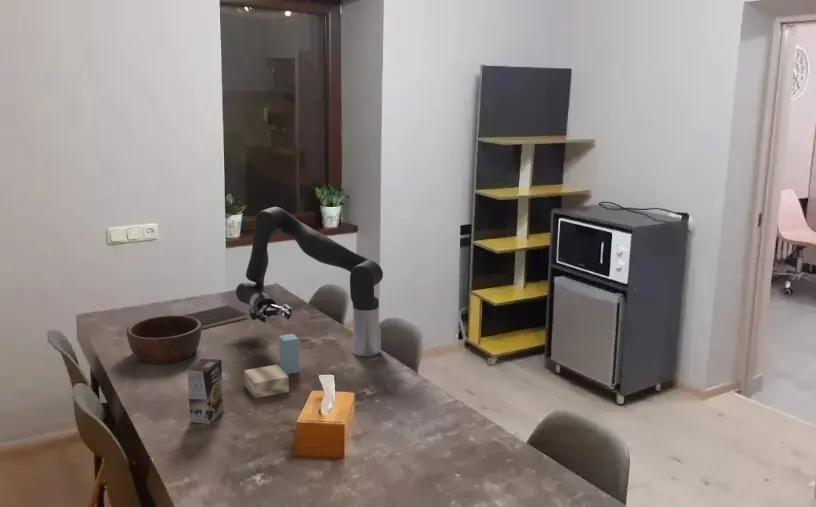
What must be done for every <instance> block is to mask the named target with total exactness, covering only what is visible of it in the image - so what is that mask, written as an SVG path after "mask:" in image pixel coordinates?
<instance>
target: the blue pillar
mask: <svg viewBox="0 0 816 507" xmlns="http://www.w3.org/2000/svg"><path fill="white" fill-rule="evenodd" d="M278 337H279V338H278V344H279V345H278V348H279V367H280V368H281V369H282V370H283V371H284V372H285V373H286V374H287V375H291V373H293V374H296V373H297V374H298V373H300V358H299V357H300V355H299V354H300V352H299V351H300V348H299V345H300V344H299V343H300V342H299V337H297V335H295V334H294V333H290V334H283V335H279V336H278Z"/></svg>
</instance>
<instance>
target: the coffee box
mask: <svg viewBox="0 0 816 507" xmlns="http://www.w3.org/2000/svg"><path fill="white" fill-rule="evenodd" d="M222 367H223V366H222V359H215V358H214V359H213V358H200V360H198V361H197V362H195V363H194V364H193V365H192V366H190V367H189V368H187V385H188V386H187V387H188V388H187V389H188V390H187V391H188V406H189V408H188V409H189V422H190V423H197V424H204V425H210V424H212V423H213V422H214V421H215V420H216V419H217V418H218V417H219V416H220V415H221V414H222V413H223V412H224V410H225V409H224V407H225V406H224V391H223V390H224V389H223V369H222Z"/></svg>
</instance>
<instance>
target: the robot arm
mask: <svg viewBox="0 0 816 507" xmlns="http://www.w3.org/2000/svg"><path fill="white" fill-rule="evenodd" d="M253 229H254V230H253V236H252V238H253V239H252V247H251V252H250V258H249V261H248V265H247V268H246V272H245V277H246V279H247V280H248V281H250V282H241V283H239V284H238V285H237V286H236V288H235V294H236V297H237V299H238V300H239V301H240V302H241V303H243V304H245V305H249V306H250V308H249V310H248V311H249V312H248V313H249V314H248V315H249V317H250V318H251V320H252V321H256V320H258V321H260V322H263V323H266V321H267V320H266V319H267V318H271V317H279V318H281V317H284V318H285V319H286V320H290V319H291V316H292V315H293V312H292V310H293V308H292V307H291V306H290V305H289V304H286V303H283V304H282V305H283V306H279V305H278V304H277V303H276V302H275V300H274V299H273V298H272V297H271V296H270V295H268V294H267V293H265V277H266V276H265V275H266V273H267V268H268V266H269V254H268V253H269V252H268V245H269V242H270V240H271V237H272V236H273V234H276V233H278V232H280V233H283V234H285V235H287V236H289V237H290V238H292V239H293V240H294V241H295V242H296V243H297V245H298V247H299V249H301V250H302V252H303V253H304V254H305V255H307V256H308V257H310V258H312V259H313V260H315V261H316V262H319V263H322V264H325V265H329V266H332V267H337V268H340V269H343V270H345V271H348V273H349V272H350V274H349V286H350V287H349V291H350V294H349V295H350V299H351V300H350V301H351V302H352V353H353V354H354V355H355V356H358V357H363V358H364V357H365V358H366V357H368V358H369V357H373V356H376V355H378V354H380V353H382V352H381V351H382V350H381V348H382V346H381V345H382V343H381V342H382V335H381V334H382V328H381V326H379V324H380V321H379V320H380V318H379V315H380V314H379V310H380V309H379V305H380V302H379V298H378V297H376V296H375V286H377V285H378V284H379V283H380V282H382V280H383V278H384V272H383V269H382V267H381V266H380V265H379V263H377V262H376V261H374V260H372V259H370V258H367V257H366V256H363V255H360V254H359V253H356V252H355V251H352V250H351V249H349V248H347V247H345V246H343V245H341V244H340V243H338V242H336V241H335V240H333V239H331V238H330V237H328V236H326V235H324V234H323V233H321V232H319V231H317V230H316V229H313V228H312V227H310V226H308V225H307V224H305V223H303V222H301V221H300V220H299V219H297V218H296V217H294V216H293V215H291V214H290V213H289V212H288V211H286V210H285V209H283V208H281V207H278V206H273V207H269V208H265V209H262V210H261V211H259V212H258V213H257V214H256V216H255V220H254V228H253Z"/></svg>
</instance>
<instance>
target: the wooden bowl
mask: <svg viewBox="0 0 816 507" xmlns="http://www.w3.org/2000/svg"><path fill="white" fill-rule="evenodd" d="M201 336H202V329H201V322H200V321H199V320H197V319H195V318H192V317H188V316H182V315H180V314H179V315H175V314H174V315H171V314H170V315H157V316H154V317H153V316H152V317H148V318H144V319H141V320H138V321H136V322H134V323H132V324H130V325H129V326H128V327H127V328H126V337H127V341H128V345H129V348H130V351H131V352H132V354H133V355H134V357H136V359H137V360H139V361H141V362H143V363H148V364H154V365H155V364H156V365H157V364H171V363H177V362H180V361H183V360H186V359H187V358H190V357H192V356H193V355H194V354H195V352H197V349H198V348H199V346H200V342H201Z"/></svg>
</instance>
